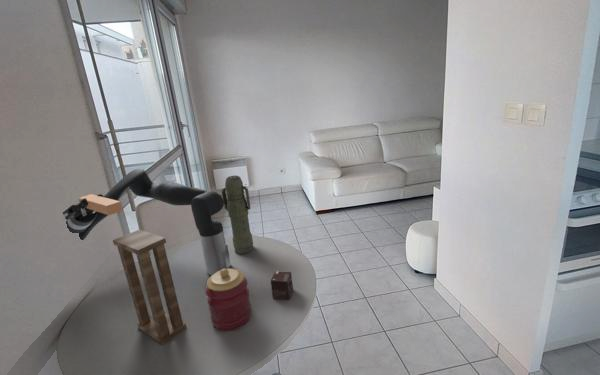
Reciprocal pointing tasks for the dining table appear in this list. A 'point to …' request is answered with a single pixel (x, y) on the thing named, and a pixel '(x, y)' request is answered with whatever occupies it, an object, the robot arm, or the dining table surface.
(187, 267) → the dining table surface
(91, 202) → the terracotta bar
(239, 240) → the thermos
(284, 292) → the box
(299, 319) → the dining table surface
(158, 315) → the walnut shelf stand
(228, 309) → the canister
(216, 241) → the robot arm
